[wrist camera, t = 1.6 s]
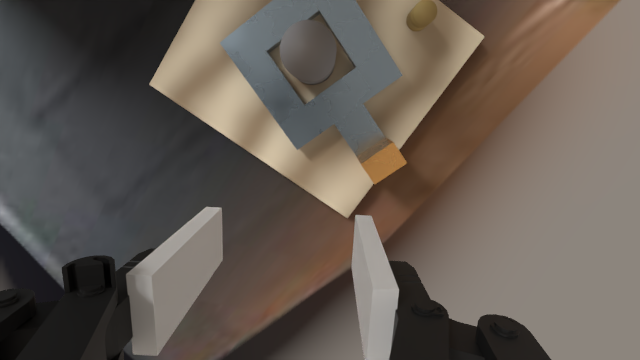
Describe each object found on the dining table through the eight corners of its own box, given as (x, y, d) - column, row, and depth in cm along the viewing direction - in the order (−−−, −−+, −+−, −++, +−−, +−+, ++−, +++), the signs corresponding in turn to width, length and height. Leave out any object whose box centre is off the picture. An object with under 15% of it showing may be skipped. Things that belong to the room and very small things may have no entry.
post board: (155, 85, 31) (105, 79, 24) (271, -124, 27) (251, -202, 20) (346, 214, 34) (351, 243, 27) (478, 39, 30) (524, 19, 23)
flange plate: (223, 45, 29) (202, 33, 24) (327, -38, 27) (327, -69, 23) (332, 195, 32) (332, 212, 27) (432, 128, 30) (452, 133, 25)
